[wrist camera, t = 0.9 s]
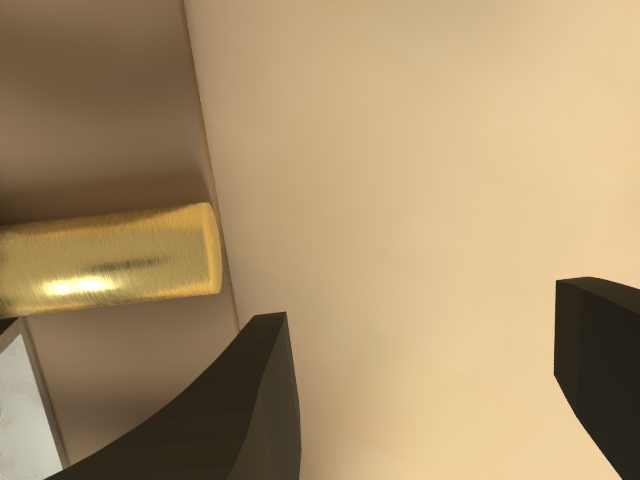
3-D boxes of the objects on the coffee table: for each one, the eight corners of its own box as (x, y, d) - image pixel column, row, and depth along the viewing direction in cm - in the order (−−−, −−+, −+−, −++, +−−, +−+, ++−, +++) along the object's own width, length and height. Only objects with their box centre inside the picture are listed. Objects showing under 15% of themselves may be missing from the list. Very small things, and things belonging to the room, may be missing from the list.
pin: (211, 192, 19) (197, 216, 16) (225, 272, 20) (214, 308, 17) (-99, 228, 19) (-164, 258, 16) (-71, 307, 20) (-128, 348, 17)
